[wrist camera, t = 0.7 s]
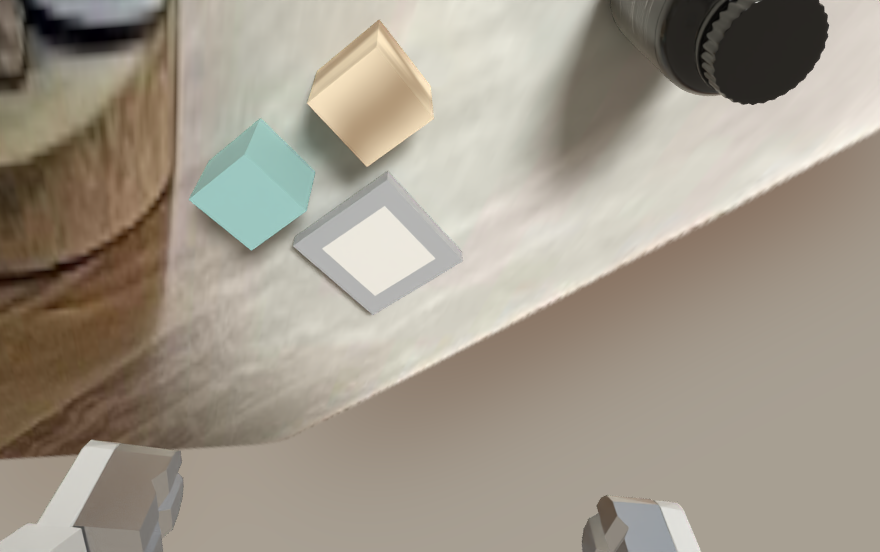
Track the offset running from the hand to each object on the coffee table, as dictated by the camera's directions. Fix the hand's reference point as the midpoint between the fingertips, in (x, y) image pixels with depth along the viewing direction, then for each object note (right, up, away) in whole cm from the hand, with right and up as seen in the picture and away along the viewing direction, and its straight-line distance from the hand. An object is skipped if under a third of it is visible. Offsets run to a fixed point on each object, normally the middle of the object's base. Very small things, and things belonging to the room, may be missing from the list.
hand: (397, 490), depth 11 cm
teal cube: (-11, +12, +28) cm, 33 cm away
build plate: (-4, +7, +33) cm, 34 cm away
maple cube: (-3, +17, +25) cm, 30 cm away
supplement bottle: (+14, +21, +22) cm, 34 cm away
